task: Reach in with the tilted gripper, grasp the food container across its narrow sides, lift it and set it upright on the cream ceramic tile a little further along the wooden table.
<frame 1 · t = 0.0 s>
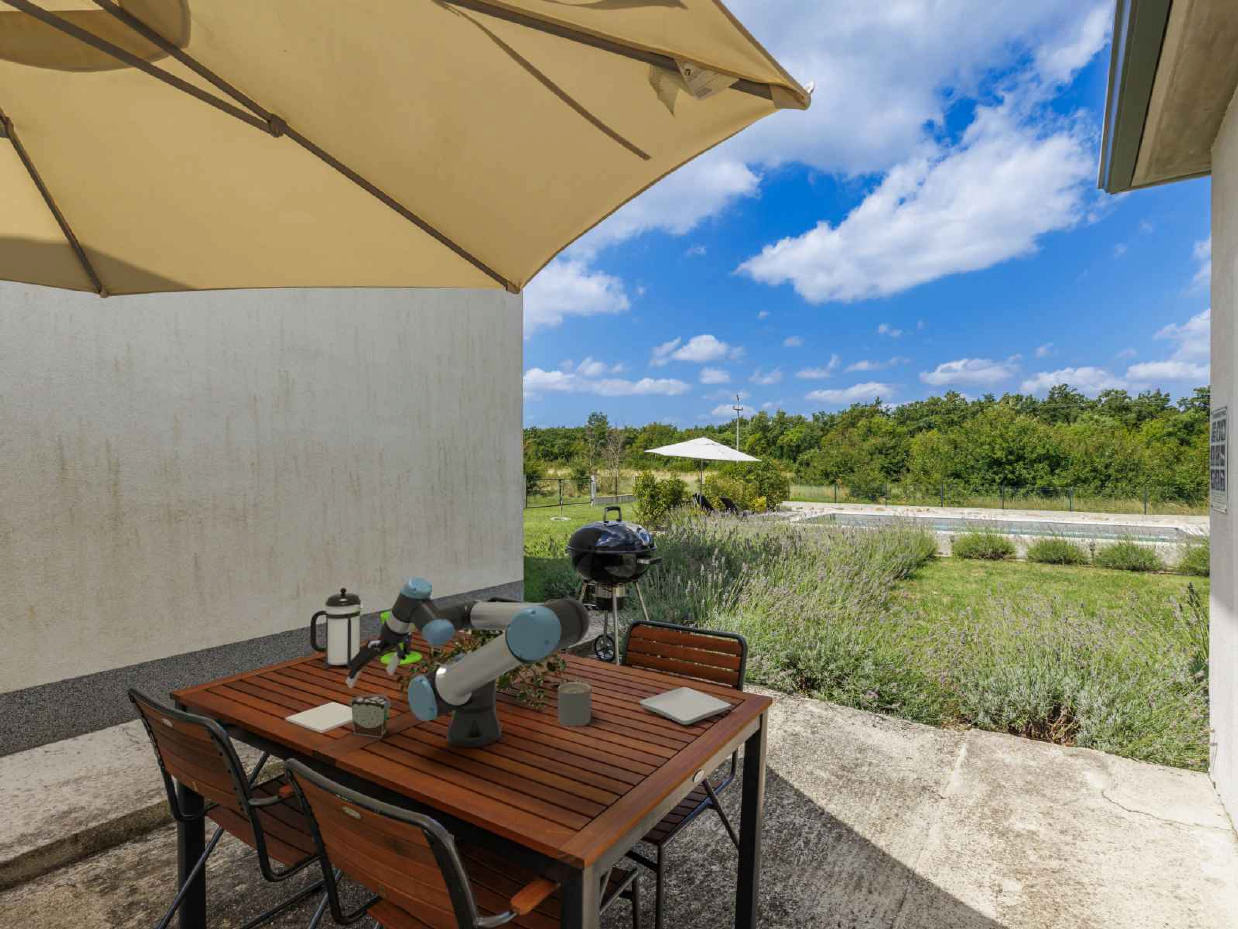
hand: (369, 678, 190), 15 cm above the table, tool tilted 35°, fingers open, 13 cm apart
wineglass: (401, 659, 263), on the table
coffee press: (339, 665, 254), on the table
food container: (374, 732, 190), on the table
salad plate: (684, 713, 206), on the table
grey canister: (578, 719, 200), on the table
ceramic tile: (327, 718, 200), on the table
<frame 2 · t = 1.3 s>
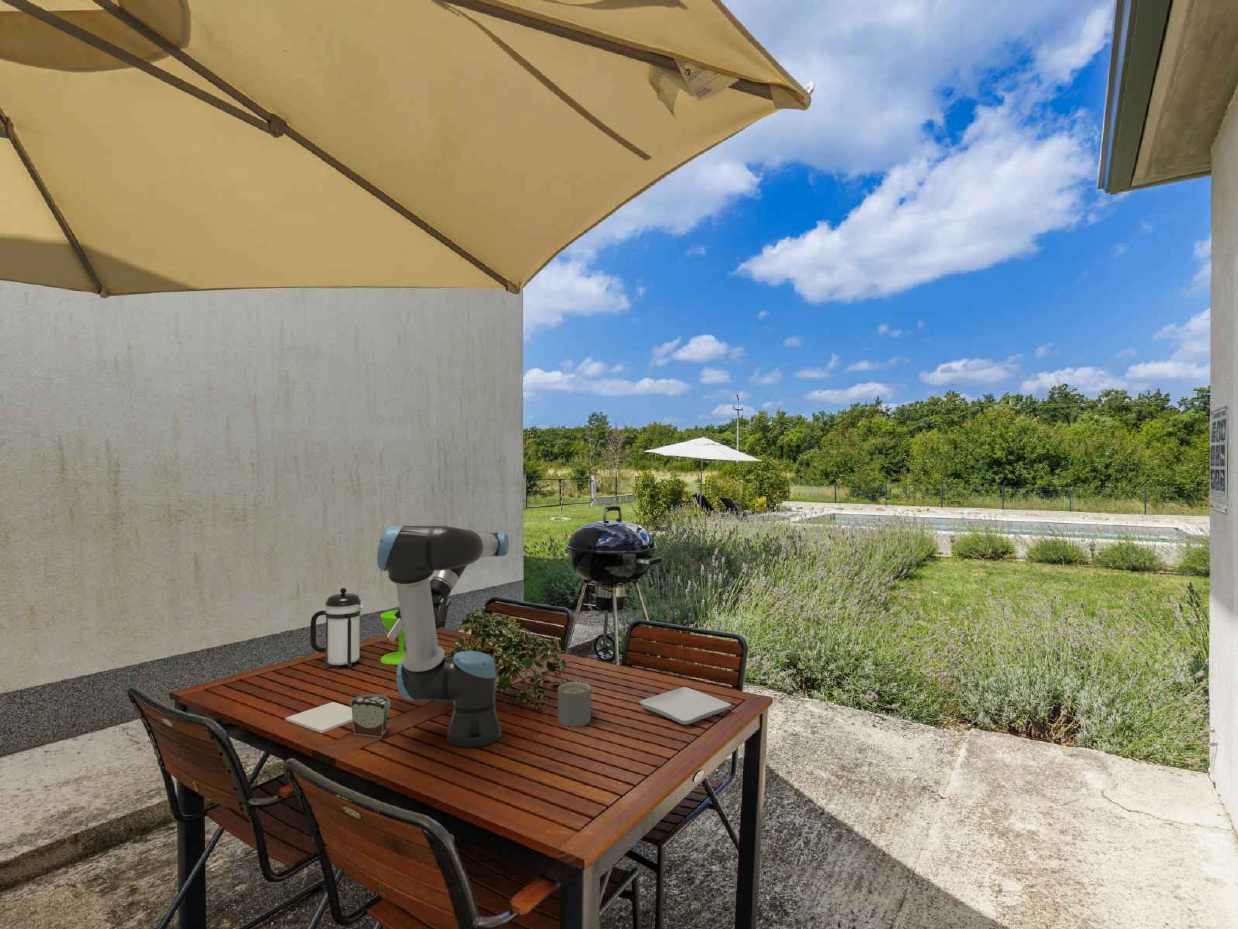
hand: (405, 642, 199), 24 cm above the table, tool tilted 45°, fingers open, 13 cm apart
nothing on the table moved.
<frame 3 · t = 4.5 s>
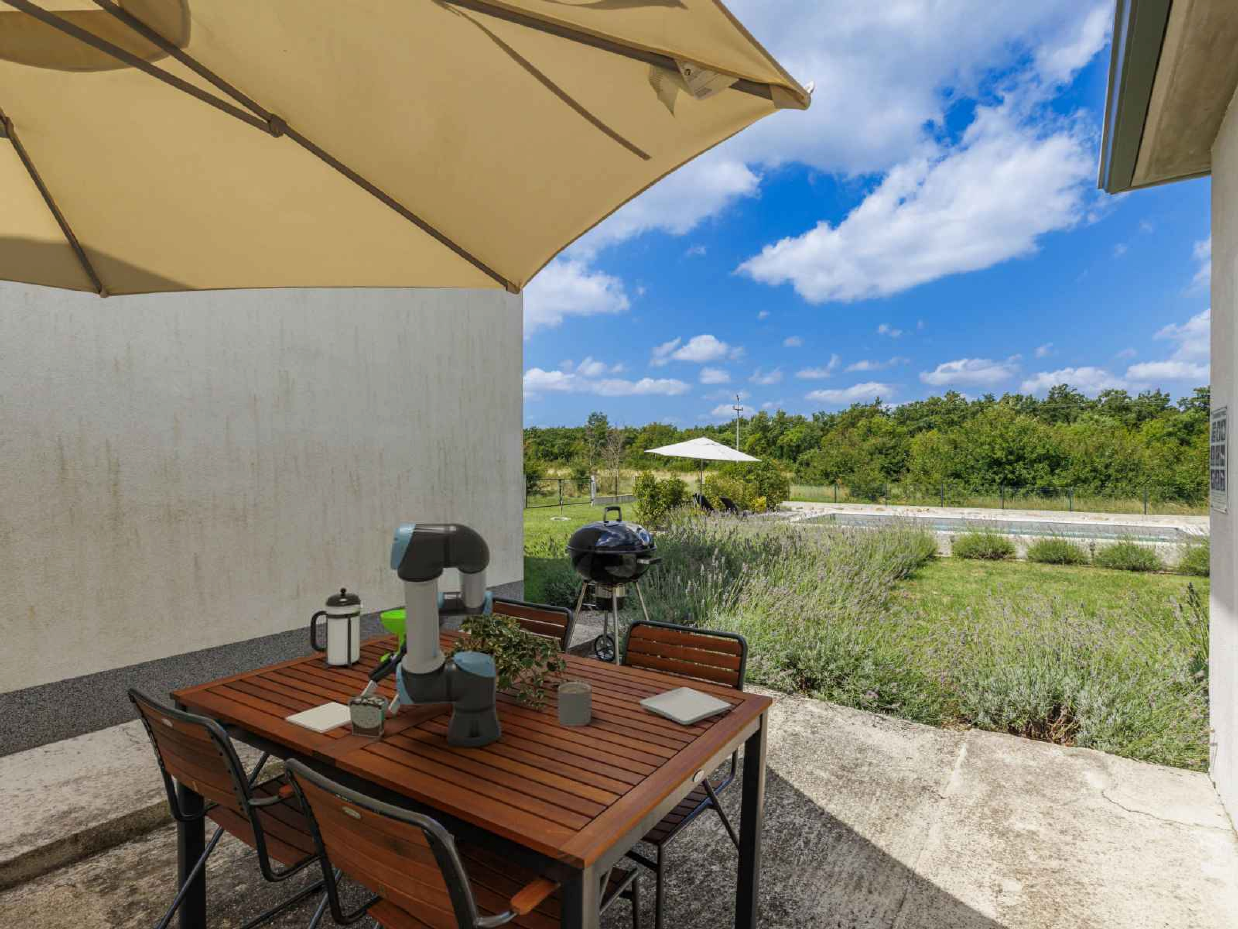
hand: (376, 707, 191), 7 cm above the table, tool tilted 45°, fingers open, 13 cm apart
food container: (373, 732, 190), on the table, touching gripper
everything else where it was.
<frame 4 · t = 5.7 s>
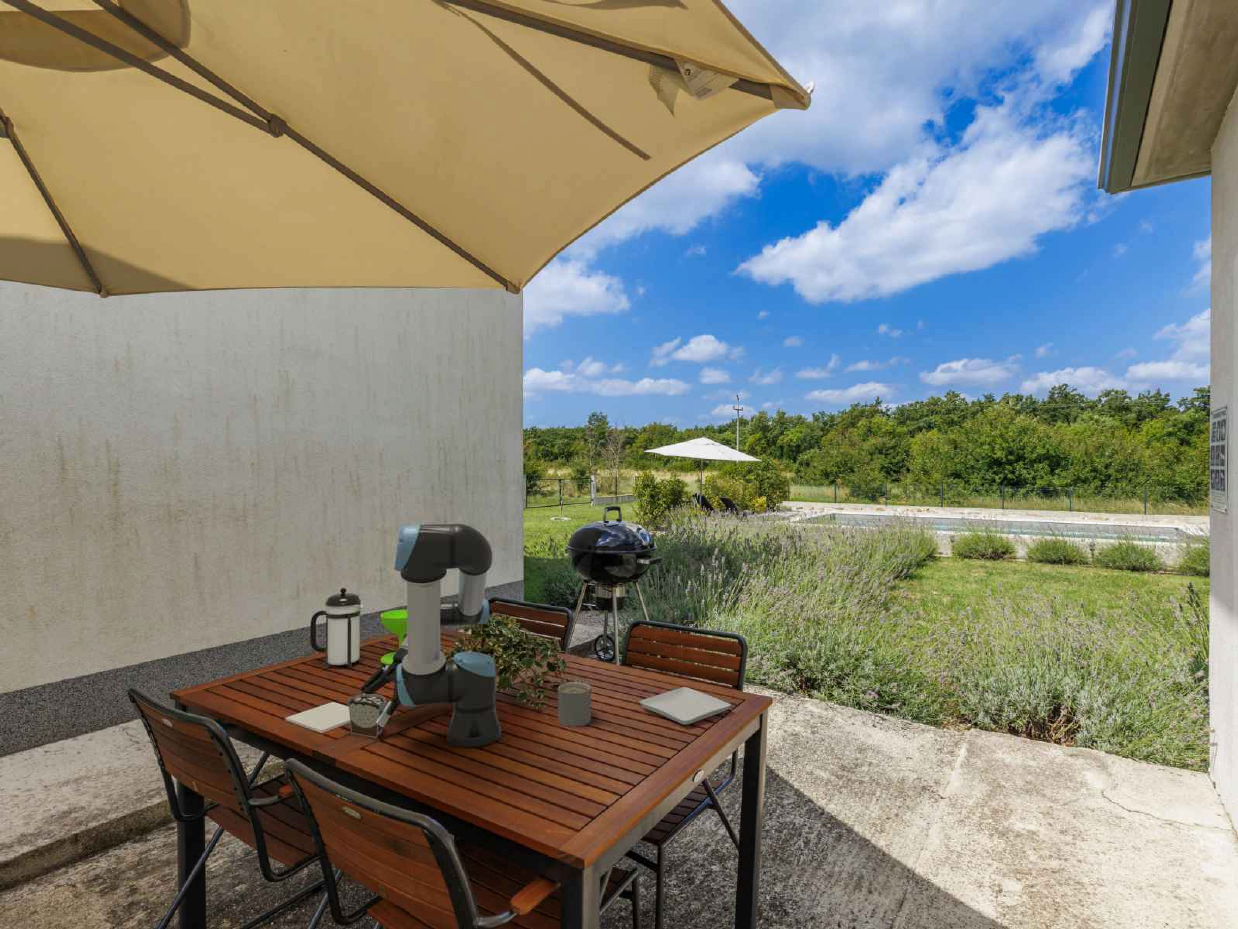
hand: (366, 720, 187), 4 cm above the table, tool tilted 45°, fingers closed on food container, 11 cm apart
food container: (371, 732, 189), on the table, touching gripper
everything else where it was.
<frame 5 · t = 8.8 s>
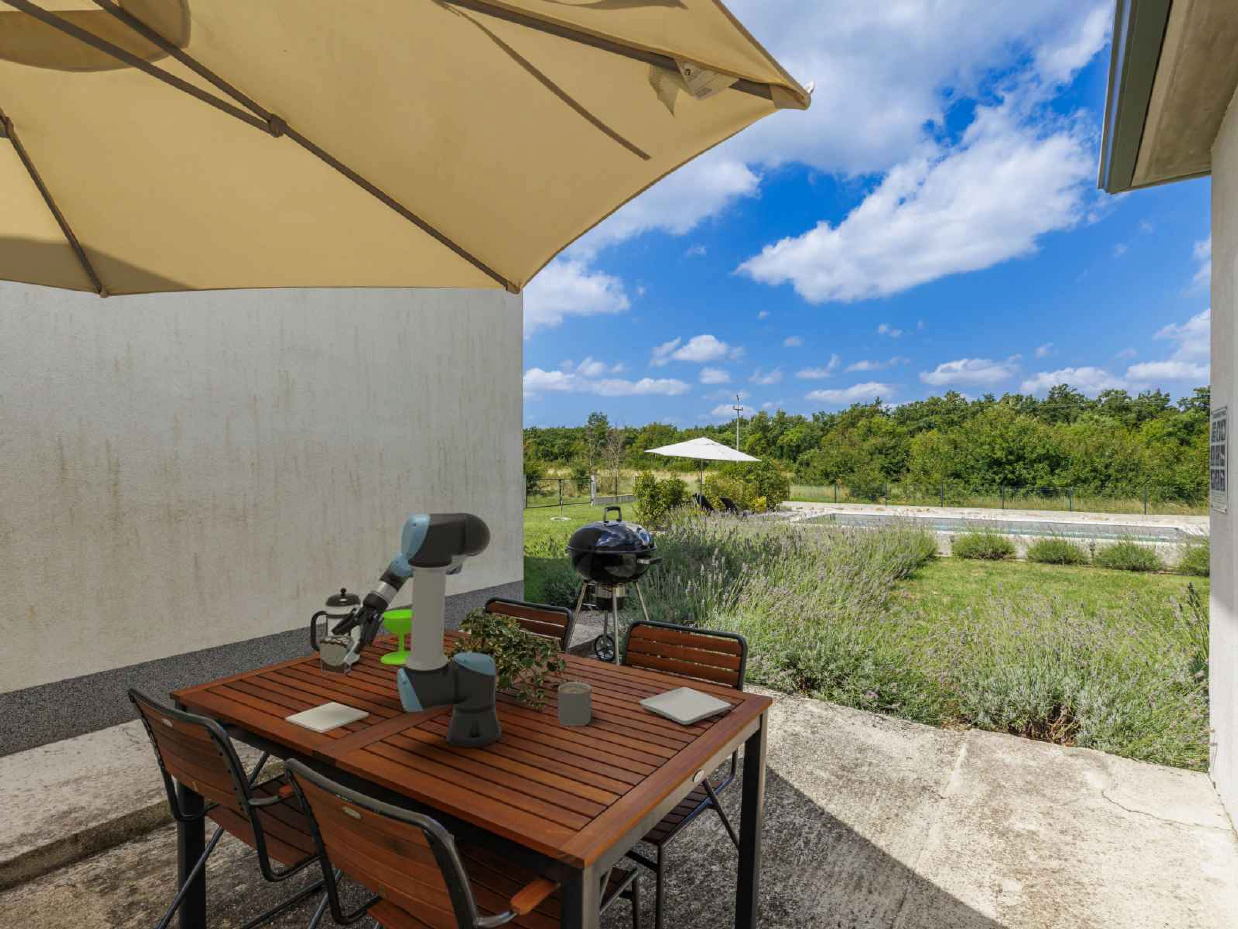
hand: (335, 659, 197), 19 cm above the table, tool tilted 45°, fingers closed on food container, 11 cm apart
food container: (340, 670, 200), point 15 cm above the table, touching gripper
everything else where it was.
when the fingers open (6 cm above the table, at t = 11.8 s): food container drops 1 cm, resting on ceramic tile.
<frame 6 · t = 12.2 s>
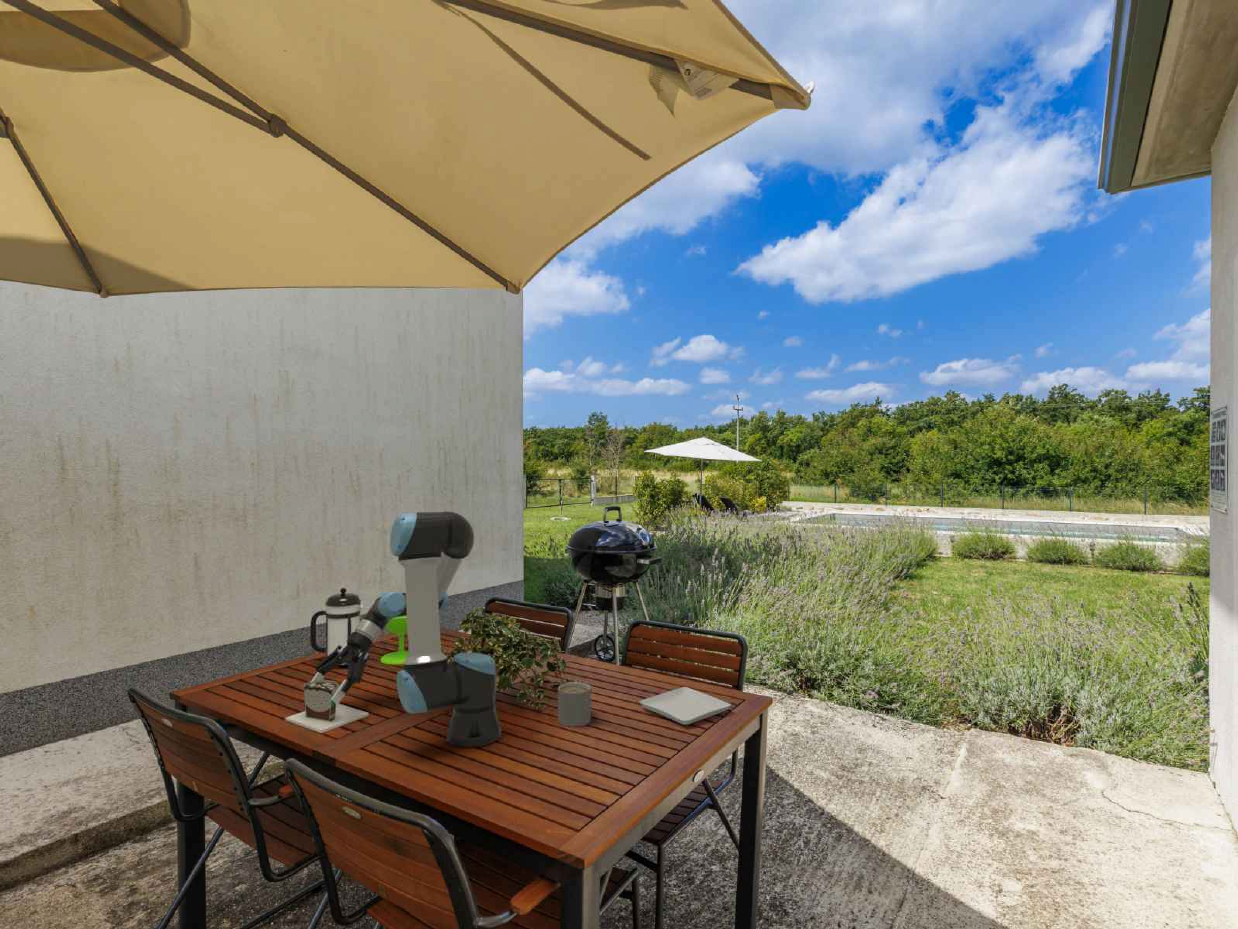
hand: (320, 697, 198), 7 cm above the table, tool tilted 45°, fingers open, 13 cm apart
food container: (325, 716, 199), point 1 cm above the table, touching ceramic tile, gripper
everything else where it was.
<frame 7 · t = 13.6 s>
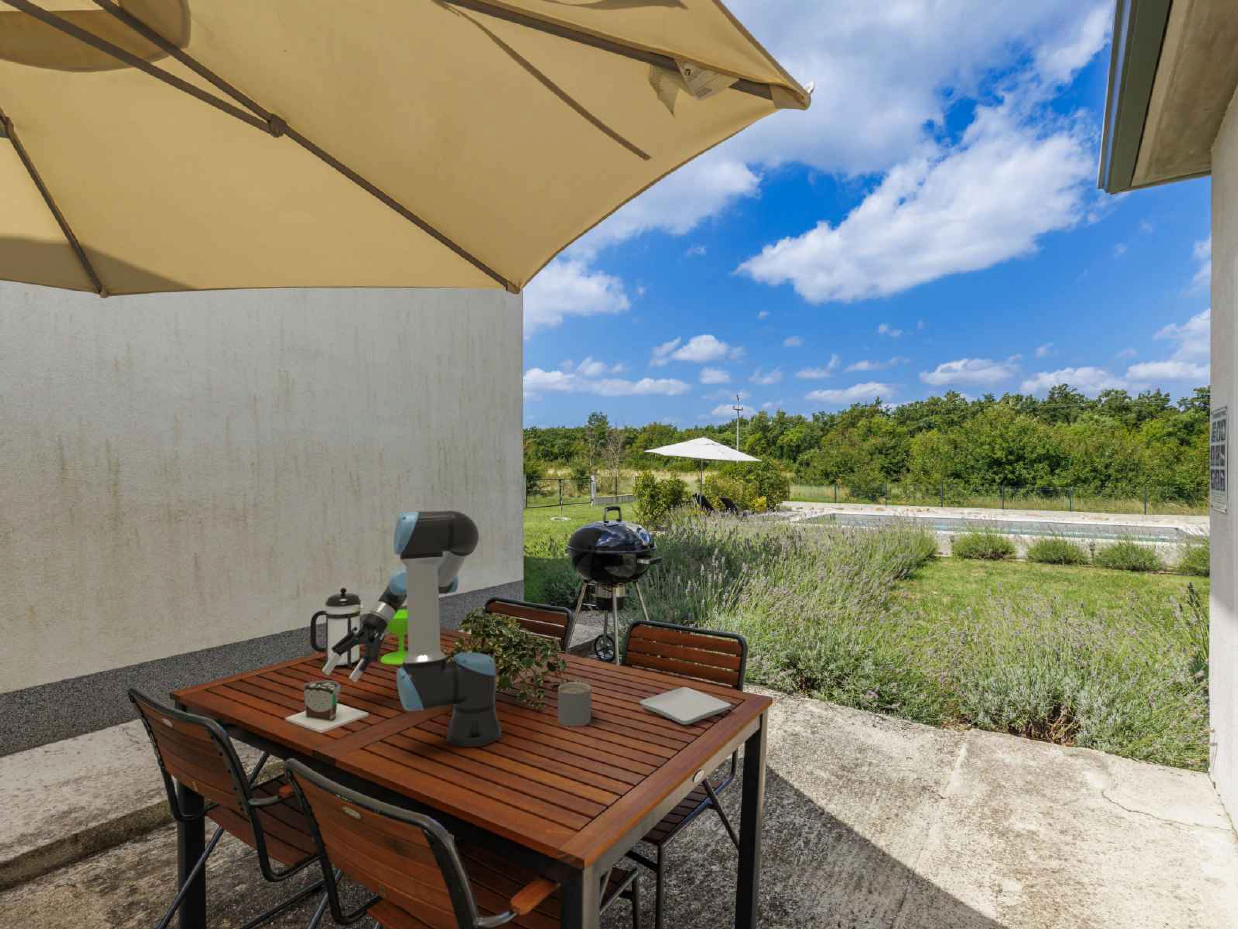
hand: (338, 676, 204), 11 cm above the table, tool tilted 45°, fingers open, 13 cm apart
food container: (325, 716, 200), point 1 cm above the table, touching ceramic tile
everything else where it was.
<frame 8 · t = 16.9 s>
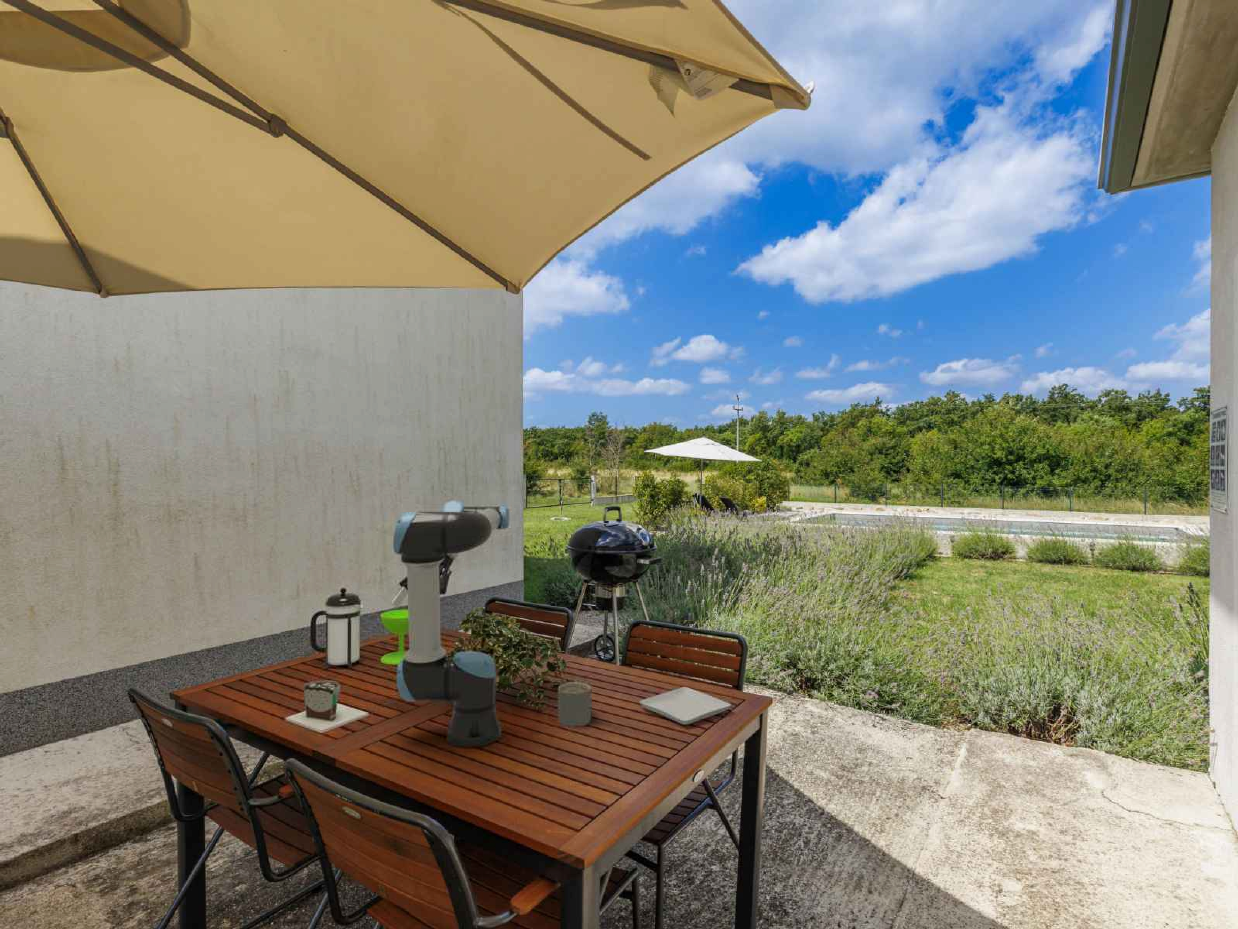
hand: (408, 608, 210), 32 cm above the table, tool tilted 45°, fingers open, 13 cm apart
nothing on the table moved.
at the end: food container inside the target area on the ceramic tile (0.5 cm from its centre), point 0.6 cm above the ceramic tile's base; food container tilted 0°; the gripper is holding nothing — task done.
